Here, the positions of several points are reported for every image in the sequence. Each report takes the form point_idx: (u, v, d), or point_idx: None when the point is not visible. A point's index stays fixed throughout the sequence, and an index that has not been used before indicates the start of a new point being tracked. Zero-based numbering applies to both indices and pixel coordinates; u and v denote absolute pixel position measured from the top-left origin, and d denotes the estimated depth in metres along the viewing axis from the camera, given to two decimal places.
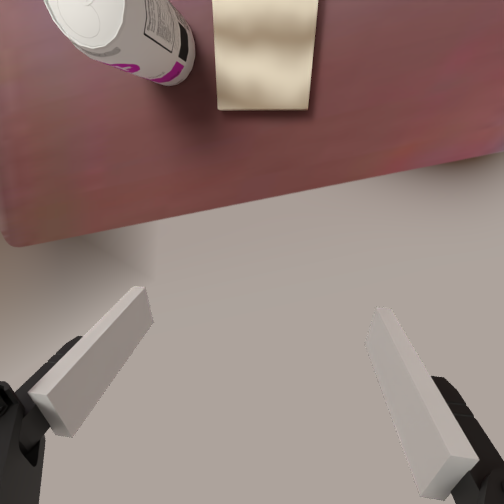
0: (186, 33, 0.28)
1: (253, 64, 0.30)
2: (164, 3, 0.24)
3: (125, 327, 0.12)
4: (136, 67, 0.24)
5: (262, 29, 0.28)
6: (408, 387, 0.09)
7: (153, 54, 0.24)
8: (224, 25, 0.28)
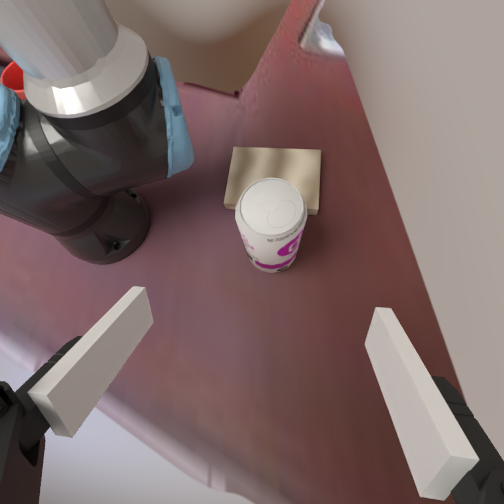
0: None
1: (291, 182, 0.41)
2: None
3: (125, 327, 0.12)
4: None
5: (272, 176, 0.42)
6: (408, 387, 0.09)
7: None
8: None
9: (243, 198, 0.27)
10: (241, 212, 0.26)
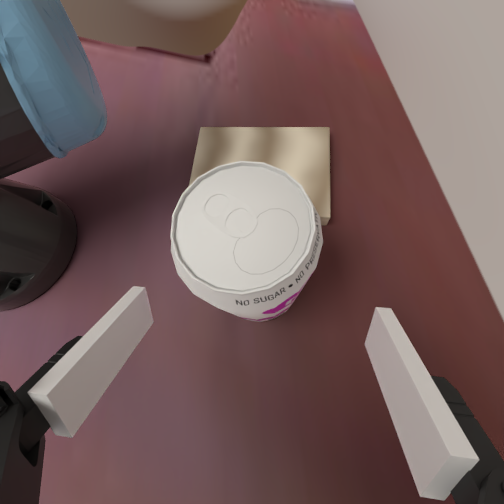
0: None
1: None
2: None
3: (125, 327, 0.12)
4: None
5: None
6: (408, 387, 0.09)
7: None
8: None
9: (183, 207, 0.12)
10: (176, 238, 0.12)
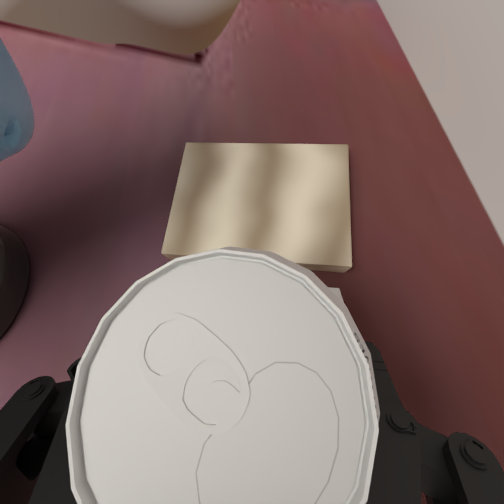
0: None
1: (293, 209, 0.21)
2: None
3: None
4: None
5: (257, 197, 0.22)
6: None
7: None
8: (246, 244, 0.20)
9: (103, 345, 0.06)
10: (81, 423, 0.06)
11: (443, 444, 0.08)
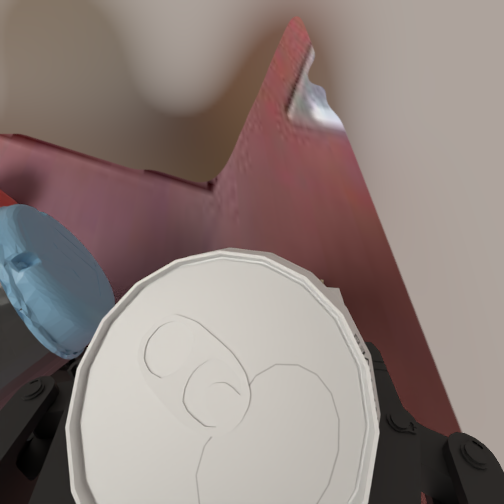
0: None
1: None
2: None
3: None
4: None
5: None
6: None
7: None
8: None
9: (103, 347, 0.06)
10: (81, 426, 0.06)
11: (443, 444, 0.08)
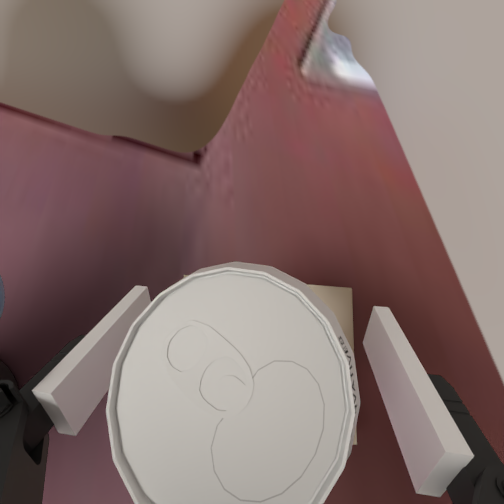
0: None
1: None
2: None
3: (127, 326, 0.12)
4: None
5: None
6: (405, 385, 0.09)
7: None
8: None
9: (133, 347, 0.08)
10: (117, 410, 0.07)
11: None
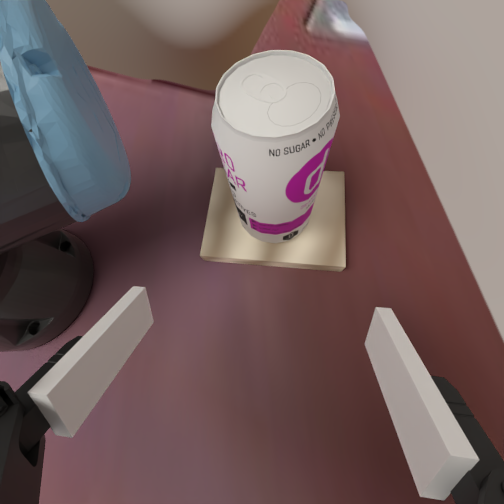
0: None
1: None
2: None
3: (125, 327, 0.12)
4: None
5: None
6: (408, 387, 0.09)
7: None
8: (265, 249, 0.27)
9: (224, 85, 0.15)
10: (220, 105, 0.14)
11: None
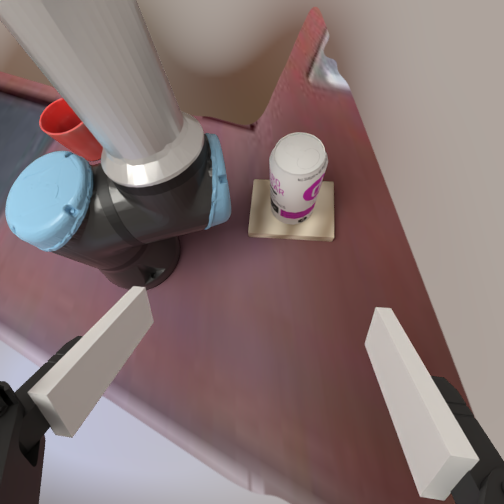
0: None
1: None
2: None
3: (125, 327, 0.12)
4: None
5: None
6: (408, 387, 0.09)
7: None
8: (287, 228, 0.45)
9: (276, 149, 0.33)
10: (275, 159, 0.33)
11: None
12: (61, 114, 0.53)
